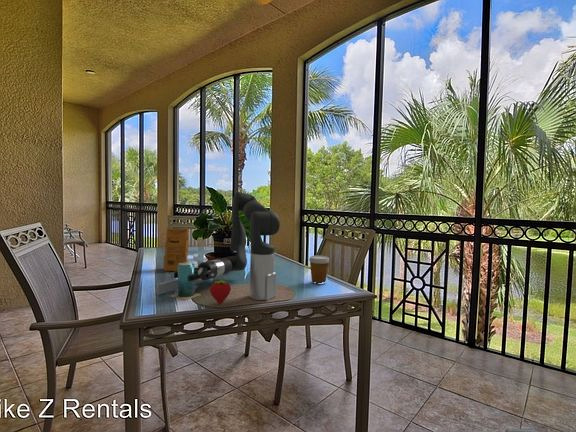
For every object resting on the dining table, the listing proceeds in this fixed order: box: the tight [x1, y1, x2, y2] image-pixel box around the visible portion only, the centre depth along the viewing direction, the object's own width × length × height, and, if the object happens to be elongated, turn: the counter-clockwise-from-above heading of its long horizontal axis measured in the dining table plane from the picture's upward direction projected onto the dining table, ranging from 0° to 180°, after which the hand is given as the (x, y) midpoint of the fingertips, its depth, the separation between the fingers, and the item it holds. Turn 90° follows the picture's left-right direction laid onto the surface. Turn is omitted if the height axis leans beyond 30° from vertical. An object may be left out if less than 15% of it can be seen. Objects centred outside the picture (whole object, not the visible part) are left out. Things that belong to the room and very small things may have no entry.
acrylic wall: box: [155, 278, 203, 296], centre depth 137 cm, size 1×24×4 cm, turn 152°
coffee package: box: [163, 227, 189, 272], centre depth 170 cm, size 10×12×22 cm
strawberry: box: [209, 276, 232, 305], centre depth 117 cm, size 6×8×10 cm
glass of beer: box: [308, 255, 330, 283], centre depth 151 cm, size 10×10×12 cm
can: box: [177, 261, 195, 297], centre depth 126 cm, size 6×6×12 cm
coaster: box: [169, 292, 202, 301], centre depth 126 cm, size 8×8×1 cm
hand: (182, 276), depth 124 cm, fingers open, 7 cm apart
